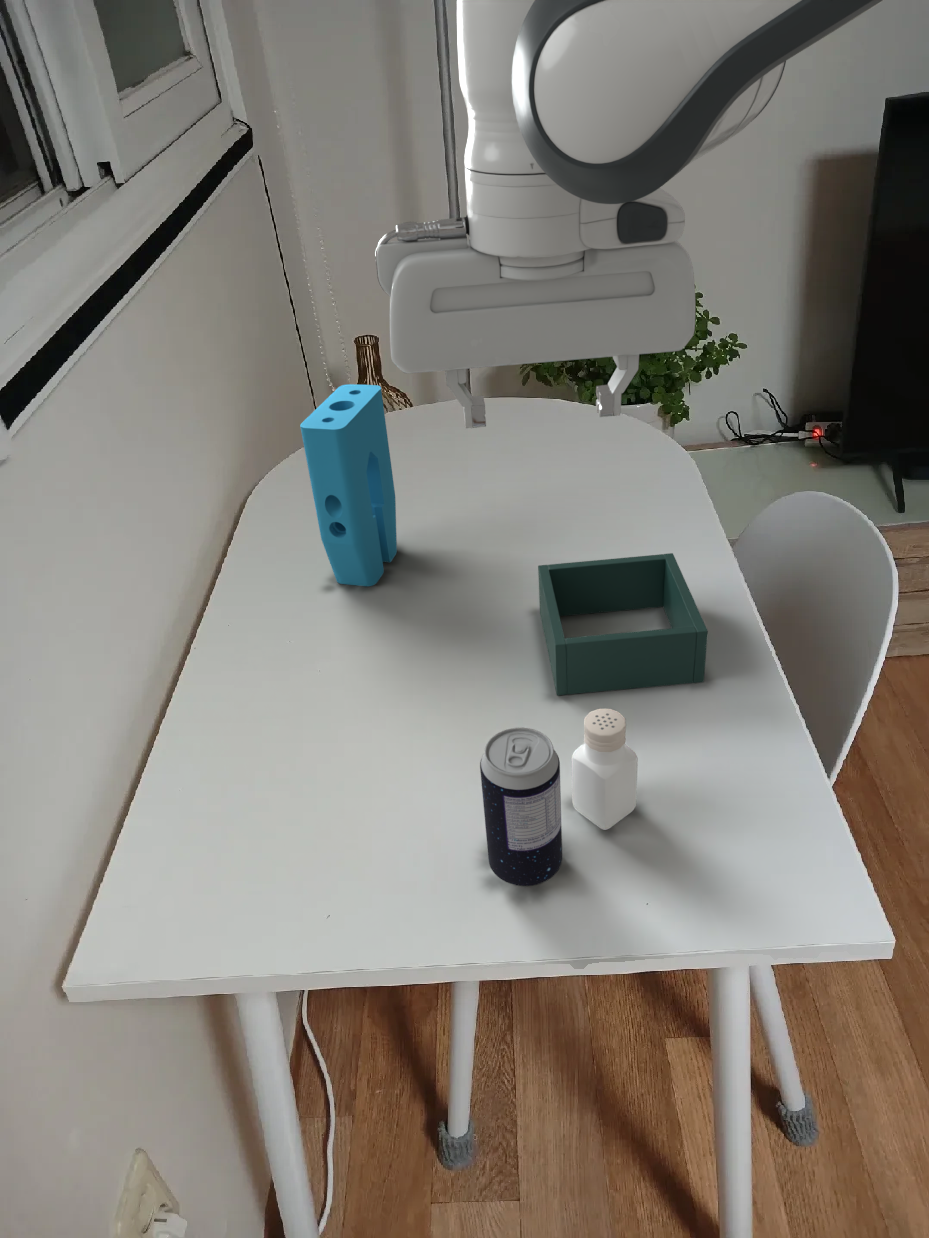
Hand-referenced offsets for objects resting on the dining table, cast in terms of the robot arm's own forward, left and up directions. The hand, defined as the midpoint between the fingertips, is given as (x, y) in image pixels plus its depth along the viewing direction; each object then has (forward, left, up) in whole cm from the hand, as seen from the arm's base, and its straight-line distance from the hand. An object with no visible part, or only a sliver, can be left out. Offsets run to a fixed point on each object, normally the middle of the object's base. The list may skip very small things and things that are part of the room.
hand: (541, 419), depth 67 cm
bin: (-8, -14, -31) cm, 35 cm away
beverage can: (+4, +13, -31) cm, 34 cm away
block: (+18, -34, -31) cm, 49 cm away
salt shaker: (-3, +8, -31) cm, 32 cm away
